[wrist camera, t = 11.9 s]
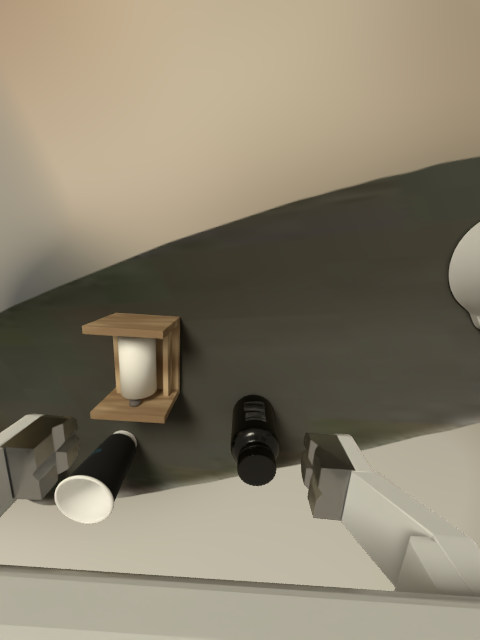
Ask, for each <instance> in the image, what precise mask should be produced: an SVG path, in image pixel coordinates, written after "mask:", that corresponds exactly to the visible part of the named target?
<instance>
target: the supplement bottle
mask: <svg viewBox="0 0 480 640" xmlns="http://www.w3.org/2000/svg"><path fill="white" fill-rule="evenodd" d="M279 452H280V442H279V437H278V432H277V427H276V422H275V417H274V412H273V408H272V406H271V404H270V403H269V401H268V400H267V399H265V398H264V397H261V396H258V395H248V396H245V397H243V398H241V399H240V400H239V401H238V402H237V403H236V404H235V406H234V409H233V418H232V433H231V453H232V455H233V457H234V459H235V461H236V462H237V465H238V466H237V470H238V475H239V477H240V478H241V480H243V481H244V482H245V483H247V484H249V485H253V486H261V485H265V484H267V483H269V482H270V481H271V480H272V479H273V477H274V476H275V474H276V459H277V457H278V455H279Z"/></svg>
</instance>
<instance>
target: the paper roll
mask: <svg viewBox="0 0 480 640" xmlns="http://www.w3.org/2000/svg"><path fill="white" fill-rule="evenodd" d="M118 351H119V368H120V385H121V395H122V396H123V397H124V398H126V399H133V400H136V399H143V398H146V397H149V396H151V395H153V394H154V393H155V392H156V390H157V376H156V338H142V337H126V336H118Z"/></svg>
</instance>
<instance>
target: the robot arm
mask: <svg viewBox="0 0 480 640" xmlns="http://www.w3.org/2000/svg"><path fill="white" fill-rule="evenodd" d="M449 284H450V288H451V291H452V293H453V295H454V297H455V299H456V300H457V301H458V303H459V304H460V305H462V306H463V307H464V308H465V309H466V310H467V311H468V312H469V313H470V316H471V319H472V321H473V323H474V325H475V327H476V328H478V329H480V222H479V223H478V224H477V225H475V226H474V227H473V228H472V229H471V230H469V231H468V232H467V234H466V235H465V236H464V237H463V238H462V240H461V241H460V242H459V244H458V246H457V247H456V249H455V251H454V253H453V256H452V259H451V262H450V267H449ZM77 429H78V424H77V419H75V418H73V417H64V416H53V415H40V414H30V415H26V416H24V417H23V418H21V419H20V420H19V421H17V422H16V423H14V424H13V425H11V426H10V427H8V428H7V429H5V430H4V431H3V432H1V433H0V509H1V508H2V507H4V506H5V505H7V504H8V503H10V502H11V501H13V499H35V500H42V499H43V498H44V496H45V495H46V494H47V493H48V492H49V491H50V489H51V488H52V487H53V486H54V485H55V484H56V483H57V481H58V475H59V474H60V473H62V472H64V471H65V470H67V469H69V467H70V466H71V465H72V464H73V462H74V461H75V459H76V457H77V455H78V452H79V447H80V442H79V438H78V437H77V436H76V434H75V431H76V430H77ZM304 446H305V449H306V450H305V451H304V452H303V453H302V458H301V472H302V478H303V482H304V485H305V486H306V487H307V488H308V489H309V491H308V500H309V504H310V507H311V511H312V515H313V518H320V519H330V520H340V521H341V522H342V524H343V525H344V526H345V527H346V528H347V530H348V531H349V532H350V533H351V534H352V536H353V537H354V538H355V539H356V540H357V542H358V543H359V544H360V545H361V546H362V548H363V549H364V550H365V551H366V552H367V554H368V555H369V556H370V557H371V558H372V560H373V561H374V562H375V563H376V564H377V565H378V567H379V568H380V569H381V570H382V572H383V573H384V574H385V575H386V576H387V578H388V579H389V580H390V581H391V582H392V583H393V585H394V586H395V587H396V588H395V591H382V590H367V589H352V588H338V587H323V586H309V585H294V584H279V583H264V582H248V581H234V580H217V579H203V578H189V577H173V576H159V575H145V574H130V573H115V572H101V571H86V570H71V569H57V568H42V567H27V566H12V565H0V640H480V548H479V547H478V546H477V545H476V544H475V542H474V541H473V540H472V539H471V538H470V537H469V536H467V535H466V534H464V533H463V532H462V531H460V530H458V529H457V528H456V527H454V526H453V525H452V524H450V523H449V522H447V521H446V520H445V519H443V518H442V517H440V516H439V515H438V514H436V513H435V512H433V511H432V510H431V509H429V508H428V507H426V506H425V505H424V504H422V503H421V502H419V501H418V500H417V499H415V498H413V497H412V496H411V495H410V494H408V493H407V492H405V491H404V490H402V489H401V488H400V487H398V486H397V485H395V484H394V483H393V482H391V481H390V480H389V479H387V478H386V477H384V476H383V475H381V474H380V473H378V472H374V471H373V470H372V468H371V467H370V465H369V463H368V462H367V460H366V459H365V457H364V455H363V454H362V452H361V451H360V449H359V448H358V446H357V444H356V443H355V441H354V440H353V438H352V436H350V435H349V434H319V433H306V434H305V436H304Z"/></svg>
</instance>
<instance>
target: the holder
mask: <svg viewBox="0 0 480 640" xmlns="http://www.w3.org/2000/svg"><path fill="white" fill-rule="evenodd" d="M82 330H83V334H94V335H110V336H113V343H114V359H115V374H116V388H115V389H114V390H113V391H112V392H111V393H110V394H108V395H107V396H106V397H105V398H104V399H103V400H102V401H101V402H100V403H99V404H98V405H97V406H96V407H95V408H94V409H93V410H92V411H91V412H90V415H91V419H104V420H119V421H135V422H151V423H165V421H166V419H167V417H168V415H169V413H170V411H171V409H172V407H173V405H174V403H175V401H176V399H177V397H178V395H179V393H180V317H173V316H157V315H141V314H125V313H114V314H112V315H109V316H107V317H104V318H101V319H99V320H96V321H94V322H91V323H89V324H86V325H83V326H82ZM118 336H126V337H142V338H156V376H157V390H156V392H155V393H154V394H153V395H151V396H149V397H146V398H143V399H136V400H133V399H126V398H124V397H123V396H122V395H121V385H120V368H119V351H118Z"/></svg>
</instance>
